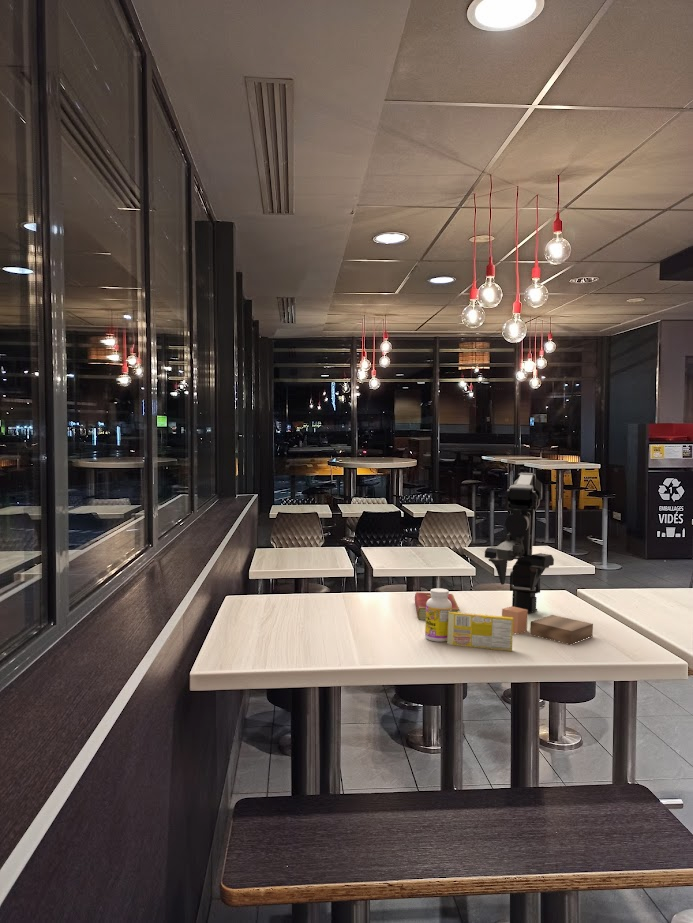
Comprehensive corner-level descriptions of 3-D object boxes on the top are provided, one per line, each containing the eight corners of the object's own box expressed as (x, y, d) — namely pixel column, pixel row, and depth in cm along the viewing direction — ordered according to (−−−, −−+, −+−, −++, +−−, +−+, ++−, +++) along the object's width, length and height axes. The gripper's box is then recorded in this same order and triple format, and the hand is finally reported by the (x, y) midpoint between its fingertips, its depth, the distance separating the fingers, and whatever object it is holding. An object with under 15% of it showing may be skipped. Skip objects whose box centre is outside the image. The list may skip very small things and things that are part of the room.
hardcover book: (417, 620, 197) (417, 606, 197) (414, 604, 218) (414, 591, 218) (458, 622, 196) (459, 608, 196) (451, 606, 217) (452, 592, 217)
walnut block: (530, 636, 185) (530, 621, 185) (552, 628, 193) (552, 614, 193) (570, 646, 177) (571, 631, 176) (592, 638, 185) (593, 623, 185)
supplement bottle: (420, 636, 180) (422, 587, 179) (442, 634, 182) (444, 586, 182) (432, 643, 173) (434, 593, 173) (455, 641, 176) (457, 592, 175)
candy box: (512, 649, 171) (513, 616, 171) (512, 652, 169) (513, 619, 168) (447, 642, 175) (449, 610, 175) (446, 644, 173) (448, 612, 173)
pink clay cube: (501, 630, 189) (502, 608, 189) (511, 627, 192) (512, 606, 192) (517, 634, 185) (517, 612, 185) (526, 631, 189) (527, 609, 188)
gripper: (474, 529, 189) (472, 585, 189) (534, 537, 176) (532, 597, 176) (496, 527, 197) (494, 580, 197) (555, 534, 184) (553, 591, 184)
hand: (517, 587), depth 188 cm, fingers open, 9 cm apart
